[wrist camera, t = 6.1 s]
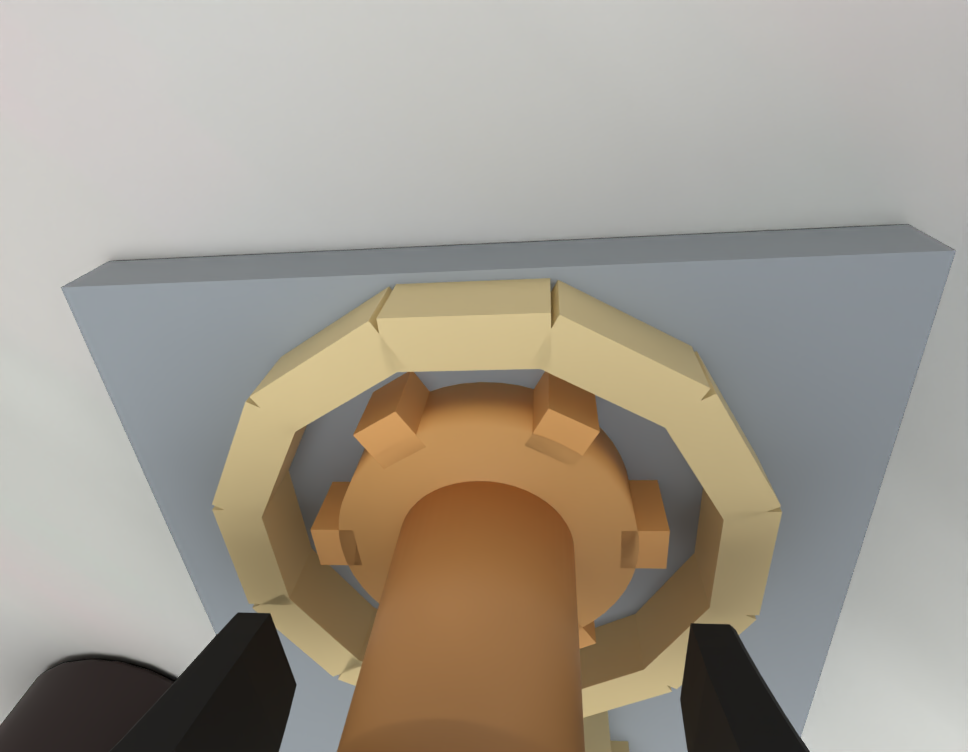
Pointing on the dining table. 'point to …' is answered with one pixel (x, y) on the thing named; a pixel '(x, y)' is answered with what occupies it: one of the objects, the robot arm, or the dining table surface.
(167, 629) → the dining table surface
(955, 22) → the dining table surface
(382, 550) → the planet gear
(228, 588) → the carrier plate
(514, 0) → the dining table surface
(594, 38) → the dining table surface
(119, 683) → the bottle
